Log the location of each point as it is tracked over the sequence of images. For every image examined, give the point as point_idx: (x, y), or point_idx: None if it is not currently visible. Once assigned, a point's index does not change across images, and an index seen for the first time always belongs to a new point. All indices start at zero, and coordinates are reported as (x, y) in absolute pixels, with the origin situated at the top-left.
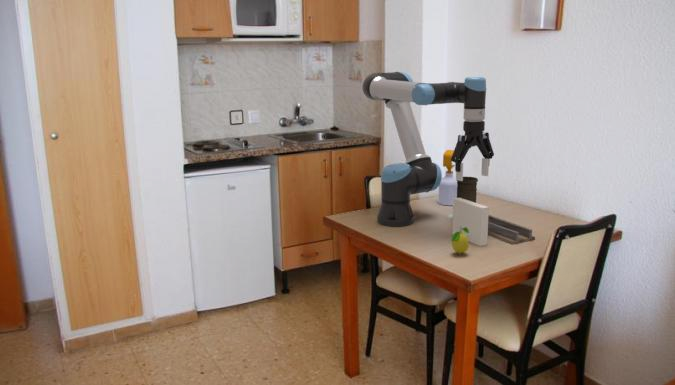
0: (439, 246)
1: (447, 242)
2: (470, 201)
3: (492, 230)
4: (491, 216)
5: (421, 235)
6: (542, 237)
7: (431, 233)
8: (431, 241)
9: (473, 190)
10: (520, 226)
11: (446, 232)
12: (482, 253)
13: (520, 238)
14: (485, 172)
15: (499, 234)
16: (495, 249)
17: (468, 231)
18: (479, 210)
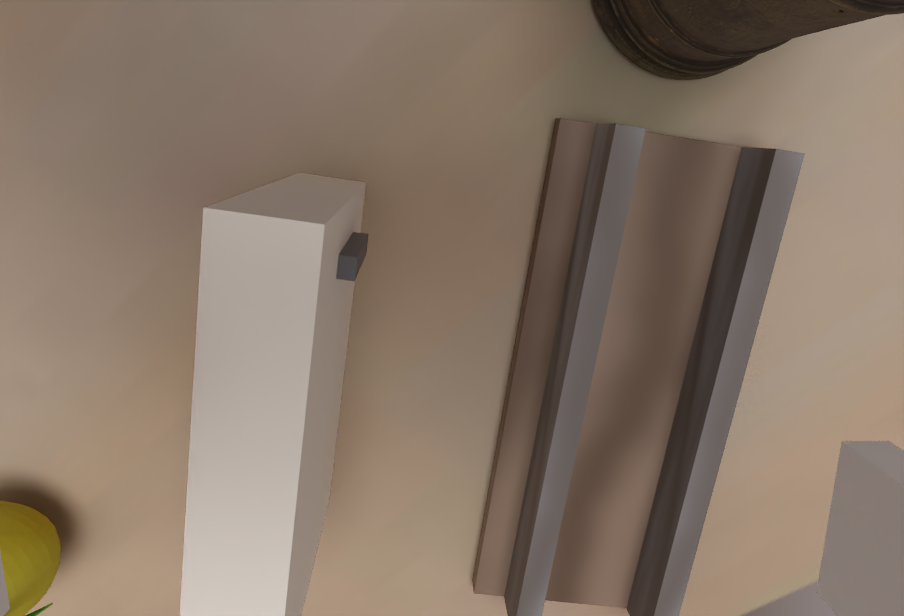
0: (4, 330)
1: (120, 300)
2: (288, 459)
3: (548, 386)
4: (765, 232)
5: (44, 26)
6: (748, 599)
7: (161, 40)
8: (22, 205)
9: (871, 9)
10: (678, 560)
11: (293, 105)
12: (173, 588)
13: (574, 582)
14: (879, 606)
15: (533, 453)
16: None
17: (37, 613)
18: None
